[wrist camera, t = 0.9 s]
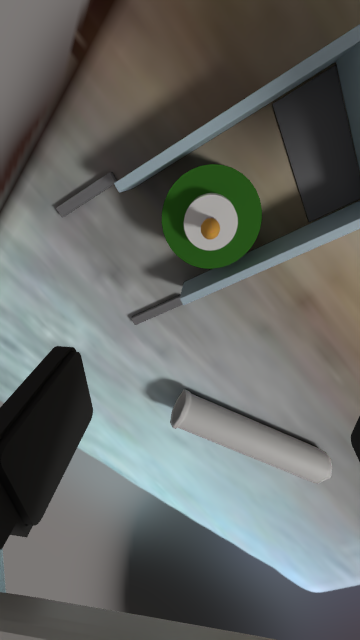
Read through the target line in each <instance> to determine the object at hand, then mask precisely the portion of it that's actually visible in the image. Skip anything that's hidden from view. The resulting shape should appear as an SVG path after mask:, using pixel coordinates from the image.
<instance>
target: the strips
mask: <svg viewBox="0 0 360 640" xmlns="http://www.w3.org/2000/svg"><path fill="white" fill-rule="evenodd" d="M115 182H117V180H116V178H115V177H114V175H113V173H112V172H109V173H108V174H106V175H105V176H103V177H102V178H100V179H99V180H97V181H96V182H94V183H93V184H91V185H90V186H88V187H87V188H85V189H84V190H82V191H81V192H79V193H78V194H76V195H75V196H73V197H72V198H70V199H69V200H67V201H66V202H64V203H63V204H61V205H60V206H58V207H57V208H56V209H57V211H58V212H59V214H60V215H61V217H64V216H66V215H67V214H69V213H71V212H72V211H74V210H75V209H77V208H78V207H80V206H81V205H83V204H84V203H86V202H88V201H89V200H91V199H92V198H94V197H95V196H97V195H98V194H100V193H101V192H103V191H105V190H106V189H108V188H109V187H111V186H112V185H114V183H115ZM180 296H181V295H179V296H177V297H174V298H172V299H170V300H168V301H165V302H163V303H161V304H159V305H157V306H154V307H152V308H150V309H148V310H146V311H143V312H141V313H139V314H137V315H134V316H132V318H131V320H132V321H133V323H134V324H135V325H137V324H139V323H141V322H144V321H146V320H148V319H151V318H153V317H155V316H157V315H160V314H162V313H164V312H167V311H169V310H171V309H173V308H176V307H178V306H180V305H183V304H182V302H181V300H180Z"/></svg>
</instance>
